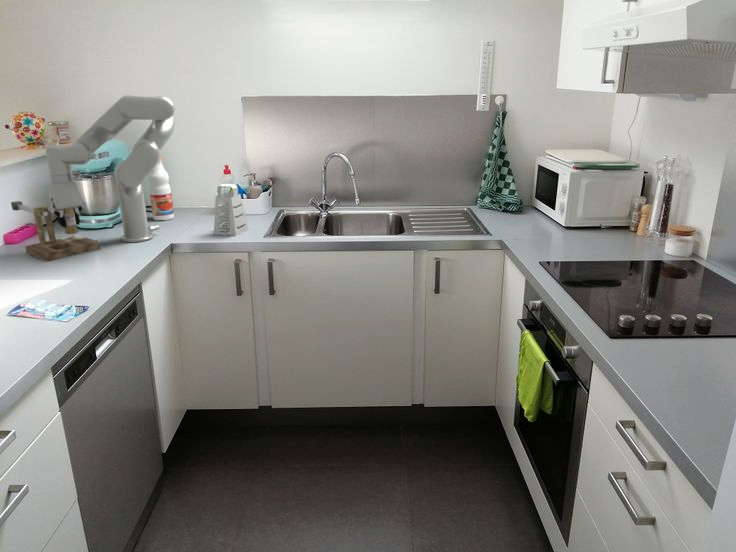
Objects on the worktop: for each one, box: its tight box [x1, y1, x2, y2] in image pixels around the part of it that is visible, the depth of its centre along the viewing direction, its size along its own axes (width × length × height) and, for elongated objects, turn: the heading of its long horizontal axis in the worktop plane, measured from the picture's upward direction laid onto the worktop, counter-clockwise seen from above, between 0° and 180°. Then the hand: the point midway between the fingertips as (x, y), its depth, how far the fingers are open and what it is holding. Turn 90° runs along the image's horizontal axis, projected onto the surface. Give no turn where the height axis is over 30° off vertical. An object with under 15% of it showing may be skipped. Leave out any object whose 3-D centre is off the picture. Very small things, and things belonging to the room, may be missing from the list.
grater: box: [213, 183, 249, 237], centre depth 247 cm, size 10×10×20 cm
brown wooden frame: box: [24, 205, 101, 262], centre depth 223 cm, size 20×17×16 cm
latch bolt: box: [10, 200, 48, 217], centre depth 230 cm, size 3×26×3 cm, turn 52°
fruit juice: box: [147, 157, 175, 221], centre depth 270 cm, size 9×9×28 cm
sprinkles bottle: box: [63, 207, 79, 235], centre depth 229 cm, size 5×5×13 cm
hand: (70, 224), depth 230 cm, fingers closed on sprinkles bottle, 4 cm apart
